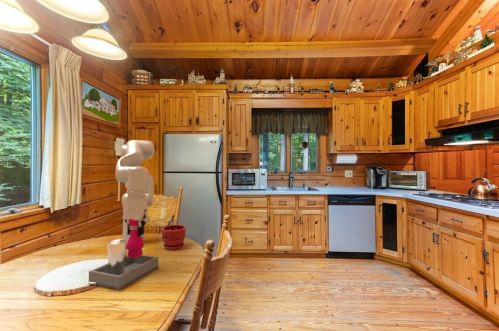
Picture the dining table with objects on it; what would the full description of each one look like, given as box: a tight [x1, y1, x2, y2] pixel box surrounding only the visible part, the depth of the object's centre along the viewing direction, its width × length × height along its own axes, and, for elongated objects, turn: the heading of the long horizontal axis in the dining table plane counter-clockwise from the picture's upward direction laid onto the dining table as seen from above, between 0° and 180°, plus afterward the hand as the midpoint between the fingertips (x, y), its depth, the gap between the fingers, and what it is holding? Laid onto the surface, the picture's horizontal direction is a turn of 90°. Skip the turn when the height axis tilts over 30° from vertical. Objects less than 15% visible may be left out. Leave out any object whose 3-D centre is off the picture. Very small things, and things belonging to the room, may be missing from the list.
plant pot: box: [161, 224, 187, 251], centre depth 142 cm, size 13×13×12 cm
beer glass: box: [106, 238, 127, 275], centre depth 101 cm, size 7×7×15 cm
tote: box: [88, 254, 160, 291], centre depth 105 cm, size 22×15×5 cm
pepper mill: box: [126, 219, 145, 258], centre depth 110 cm, size 7×7×20 cm
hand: (135, 234), depth 110 cm, fingers closed on pepper mill, 5 cm apart
